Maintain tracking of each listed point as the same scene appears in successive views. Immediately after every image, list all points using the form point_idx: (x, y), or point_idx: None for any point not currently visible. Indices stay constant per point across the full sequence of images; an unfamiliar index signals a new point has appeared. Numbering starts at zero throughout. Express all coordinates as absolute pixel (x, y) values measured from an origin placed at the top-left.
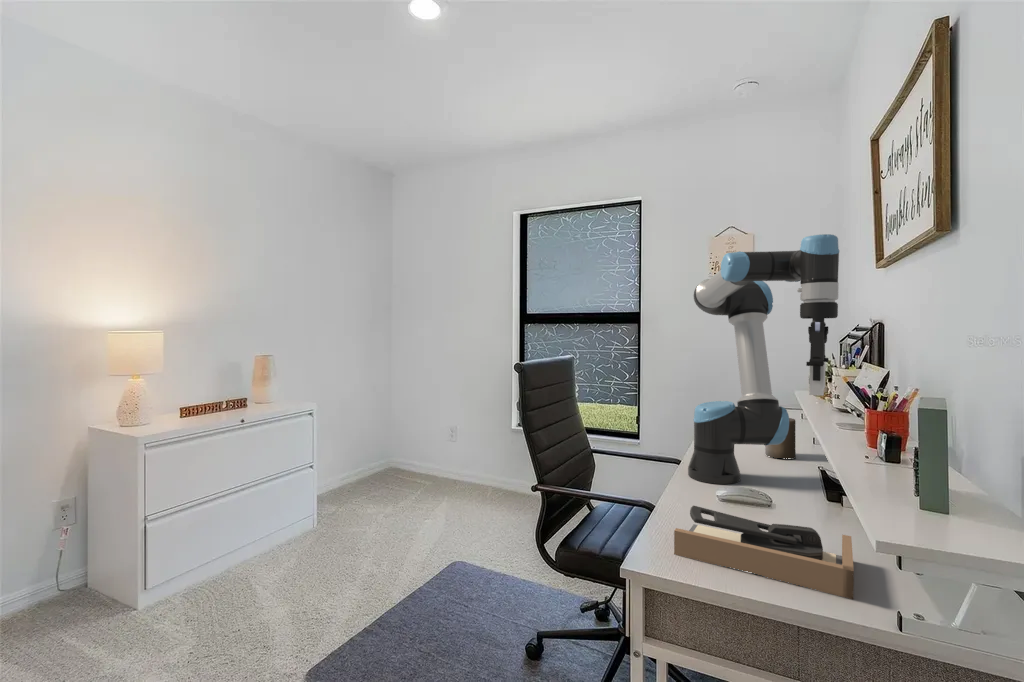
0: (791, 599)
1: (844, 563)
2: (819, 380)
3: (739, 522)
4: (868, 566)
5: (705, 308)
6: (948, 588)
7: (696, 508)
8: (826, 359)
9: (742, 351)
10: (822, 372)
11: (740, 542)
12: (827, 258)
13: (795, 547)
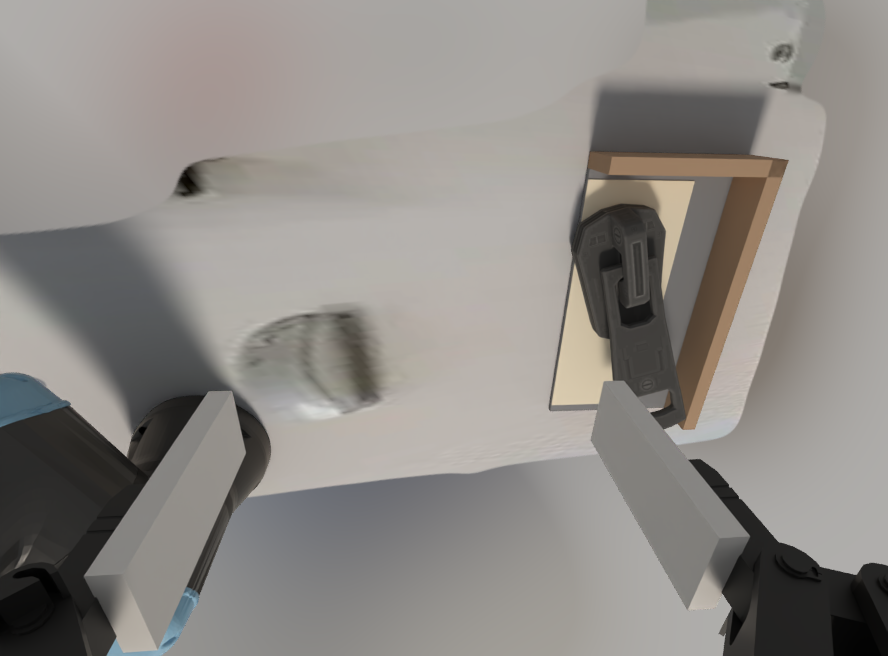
0: (771, 242)
1: (759, 174)
2: (699, 465)
3: (645, 355)
4: (603, 119)
5: None
6: None
7: None
8: (21, 606)
9: None
10: (712, 499)
11: (714, 338)
12: None
13: (648, 253)
